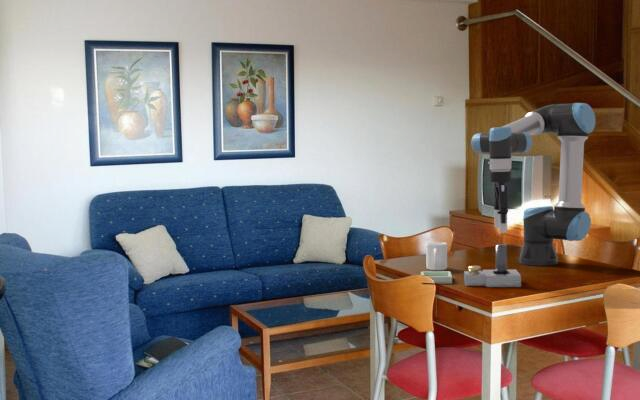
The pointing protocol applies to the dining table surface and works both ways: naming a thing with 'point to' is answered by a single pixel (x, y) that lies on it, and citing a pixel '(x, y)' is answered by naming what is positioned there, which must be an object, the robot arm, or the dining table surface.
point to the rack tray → (439, 276)
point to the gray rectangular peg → (501, 258)
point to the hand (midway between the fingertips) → (500, 230)
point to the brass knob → (474, 269)
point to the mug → (436, 255)
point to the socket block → (493, 278)
